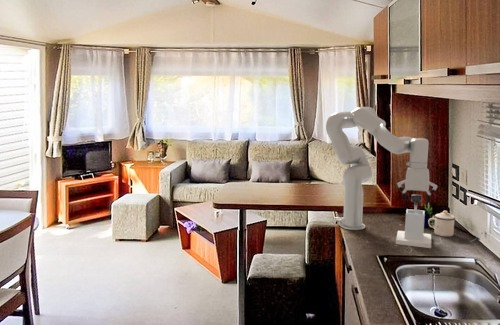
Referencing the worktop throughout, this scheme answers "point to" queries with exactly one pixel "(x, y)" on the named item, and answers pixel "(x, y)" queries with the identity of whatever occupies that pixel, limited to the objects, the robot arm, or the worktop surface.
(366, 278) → the worktop surface
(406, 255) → the worktop surface
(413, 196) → the plunger
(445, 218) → the teacup with lid
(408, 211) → the stand
